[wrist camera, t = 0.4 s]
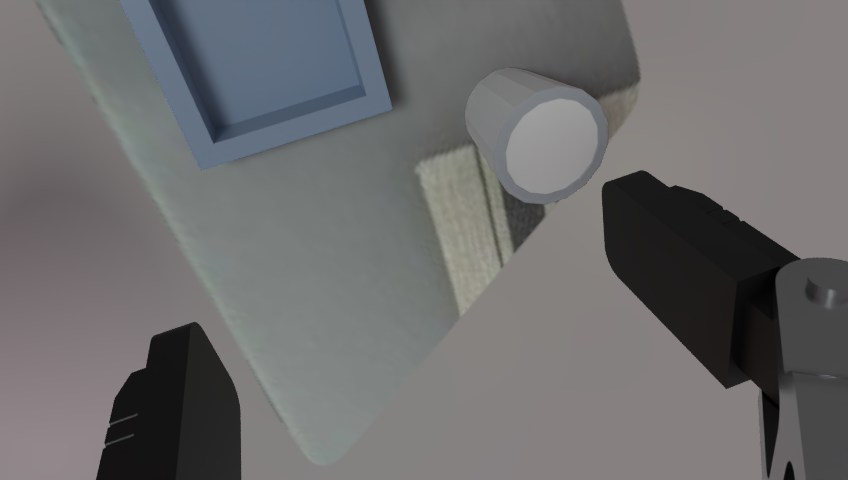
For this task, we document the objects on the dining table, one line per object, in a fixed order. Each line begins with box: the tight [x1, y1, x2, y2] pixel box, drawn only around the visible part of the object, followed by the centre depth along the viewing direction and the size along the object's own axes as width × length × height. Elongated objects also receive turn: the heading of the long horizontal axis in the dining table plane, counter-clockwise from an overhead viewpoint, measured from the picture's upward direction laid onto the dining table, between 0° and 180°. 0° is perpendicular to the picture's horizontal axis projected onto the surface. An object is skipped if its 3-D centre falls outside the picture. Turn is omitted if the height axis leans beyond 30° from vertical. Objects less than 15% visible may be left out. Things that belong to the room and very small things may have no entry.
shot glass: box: [465, 67, 608, 204], centre depth 36 cm, size 7×7×7 cm
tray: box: [119, 0, 393, 171], centre depth 31 cm, size 11×11×3 cm
